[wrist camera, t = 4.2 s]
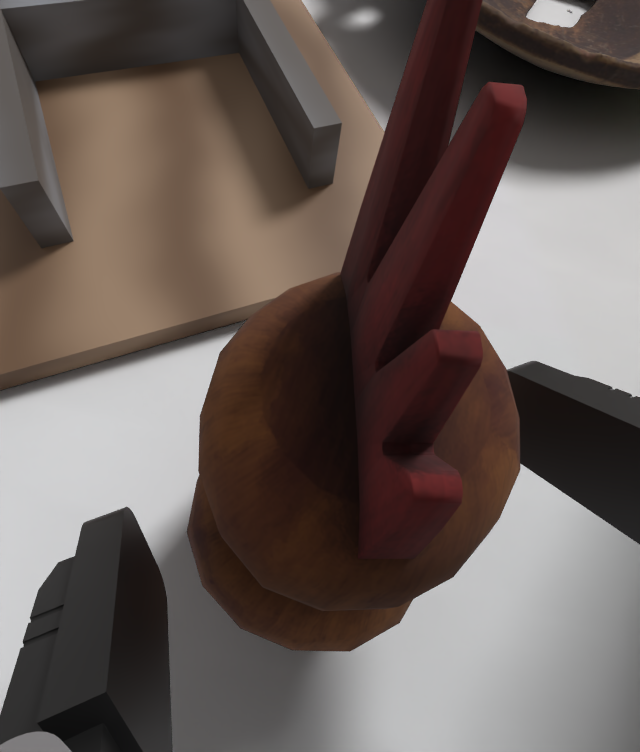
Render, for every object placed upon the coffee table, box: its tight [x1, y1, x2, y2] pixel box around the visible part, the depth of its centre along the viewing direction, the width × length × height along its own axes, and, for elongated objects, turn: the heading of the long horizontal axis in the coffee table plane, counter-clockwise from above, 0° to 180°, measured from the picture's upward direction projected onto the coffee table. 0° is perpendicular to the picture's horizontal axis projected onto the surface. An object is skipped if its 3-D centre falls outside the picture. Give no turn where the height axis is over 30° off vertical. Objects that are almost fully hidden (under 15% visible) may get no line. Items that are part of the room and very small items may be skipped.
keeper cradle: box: [0, 0, 385, 390], centre depth 20 cm, size 20×20×4 cm
